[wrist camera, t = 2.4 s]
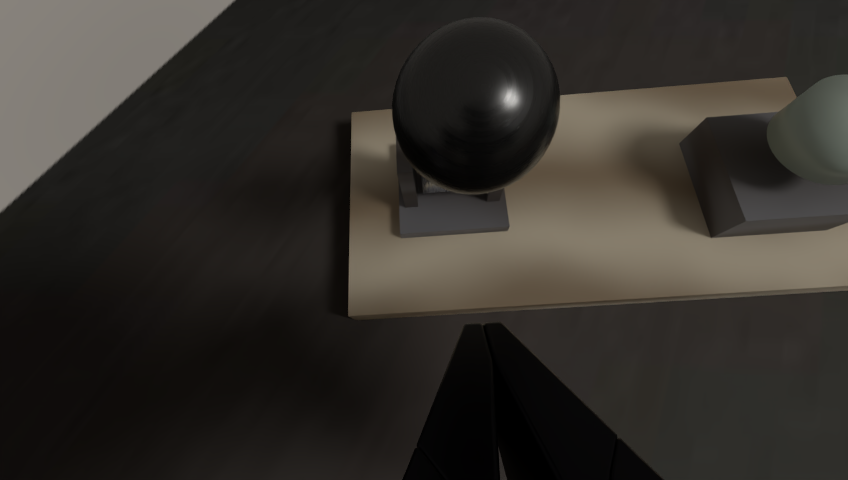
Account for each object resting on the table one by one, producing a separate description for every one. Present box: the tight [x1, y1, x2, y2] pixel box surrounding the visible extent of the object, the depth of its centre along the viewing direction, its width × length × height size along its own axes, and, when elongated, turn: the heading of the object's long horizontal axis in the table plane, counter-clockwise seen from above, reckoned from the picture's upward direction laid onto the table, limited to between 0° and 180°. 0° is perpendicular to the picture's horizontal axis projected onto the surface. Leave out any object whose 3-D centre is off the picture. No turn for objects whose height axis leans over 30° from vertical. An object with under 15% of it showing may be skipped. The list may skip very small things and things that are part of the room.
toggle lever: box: [392, 17, 560, 195], centre depth 11 cm, size 3×3×12 cm
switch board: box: [348, 77, 848, 320], centre depth 16 cm, size 11×23×5 cm, turn 93°
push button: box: [767, 75, 848, 185], centre depth 13 cm, size 4×4×2 cm
